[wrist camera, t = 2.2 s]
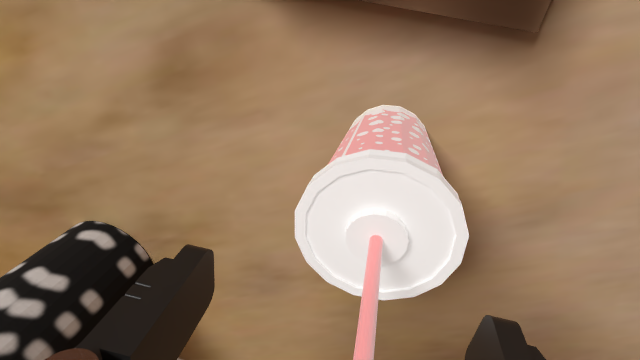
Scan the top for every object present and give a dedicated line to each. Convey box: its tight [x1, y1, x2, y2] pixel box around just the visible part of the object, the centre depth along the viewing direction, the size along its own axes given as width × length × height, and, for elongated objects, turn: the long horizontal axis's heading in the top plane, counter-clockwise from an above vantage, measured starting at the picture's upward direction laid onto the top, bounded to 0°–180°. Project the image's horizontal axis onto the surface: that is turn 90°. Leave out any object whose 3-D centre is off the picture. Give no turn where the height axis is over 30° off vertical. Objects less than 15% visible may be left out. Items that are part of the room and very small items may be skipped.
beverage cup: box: [295, 105, 469, 360], centre depth 14 cm, size 6×6×14 cm
